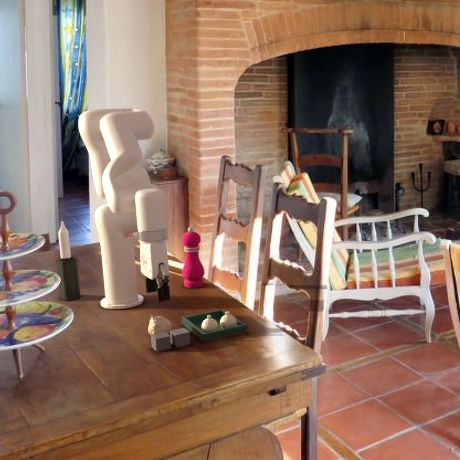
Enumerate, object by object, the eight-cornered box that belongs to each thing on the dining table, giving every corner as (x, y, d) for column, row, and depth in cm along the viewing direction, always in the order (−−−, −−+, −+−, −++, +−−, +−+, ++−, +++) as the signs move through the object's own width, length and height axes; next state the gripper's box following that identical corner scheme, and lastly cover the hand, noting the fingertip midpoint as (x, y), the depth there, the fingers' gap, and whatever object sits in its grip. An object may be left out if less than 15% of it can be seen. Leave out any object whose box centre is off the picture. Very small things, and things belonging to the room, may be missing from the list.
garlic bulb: (144, 337, 221) (142, 309, 219) (166, 331, 225) (164, 304, 223) (154, 344, 216) (152, 316, 214) (177, 338, 221) (175, 310, 219)
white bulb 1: (199, 332, 223) (198, 315, 222) (214, 329, 225) (213, 311, 224) (205, 337, 219) (204, 319, 218) (220, 334, 222) (219, 316, 221)
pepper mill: (199, 289, 263) (195, 230, 258) (179, 287, 265) (175, 229, 260) (209, 282, 270) (205, 225, 265) (189, 281, 271) (185, 224, 267)
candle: (72, 294, 258) (65, 218, 252) (82, 297, 255) (74, 220, 249) (58, 298, 254) (49, 221, 248) (67, 301, 251) (59, 223, 245)
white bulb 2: (218, 328, 226) (217, 311, 225) (232, 325, 228) (231, 308, 227) (224, 333, 223) (223, 315, 221) (239, 330, 225) (238, 312, 224)
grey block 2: (170, 344, 216) (169, 330, 215) (185, 341, 218) (184, 327, 217) (176, 349, 213) (175, 335, 212) (190, 345, 215) (189, 331, 214)
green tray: (182, 325, 230) (181, 317, 229) (223, 317, 237) (223, 308, 237) (203, 343, 217) (203, 334, 216) (247, 333, 224) (246, 324, 224)
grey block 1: (151, 348, 213) (150, 334, 212) (166, 345, 215) (165, 331, 214) (156, 353, 210) (155, 339, 209) (171, 350, 212) (170, 336, 211)
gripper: (129, 231, 219) (134, 291, 222) (149, 243, 205) (154, 306, 209) (156, 227, 223) (161, 286, 227) (178, 239, 209) (182, 301, 213)
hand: (158, 296), depth 218 cm, fingers open, 9 cm apart
